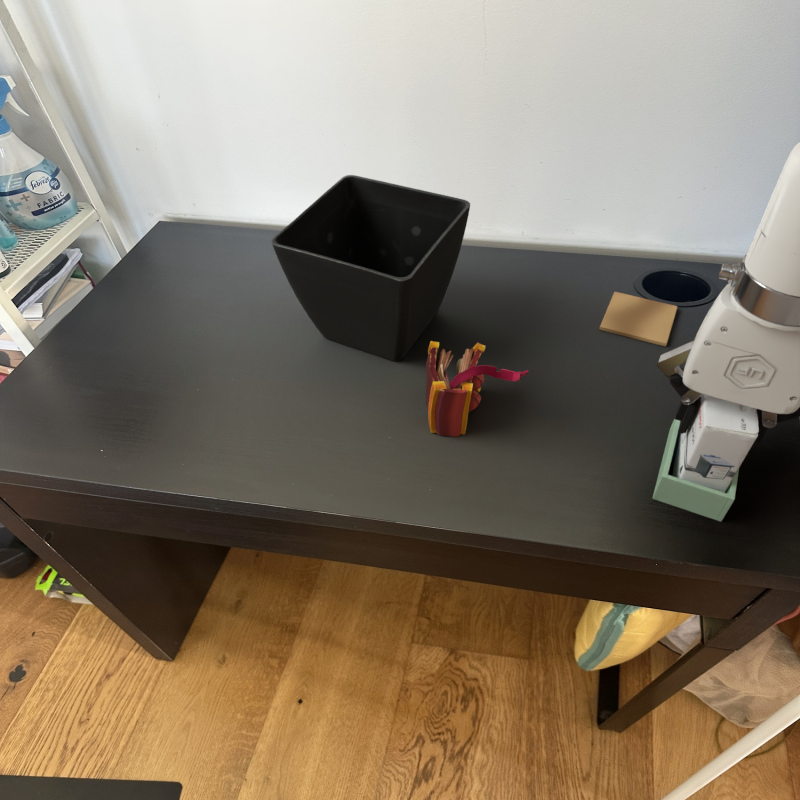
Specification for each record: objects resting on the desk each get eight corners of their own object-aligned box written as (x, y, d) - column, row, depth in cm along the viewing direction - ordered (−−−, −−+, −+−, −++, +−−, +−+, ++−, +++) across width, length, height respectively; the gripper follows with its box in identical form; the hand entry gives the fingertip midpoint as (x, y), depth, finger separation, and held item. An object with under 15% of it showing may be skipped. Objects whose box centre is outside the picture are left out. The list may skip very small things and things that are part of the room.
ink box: (673, 440, 73) (701, 366, 65) (719, 449, 72) (754, 375, 64) (670, 499, 68) (701, 425, 59) (721, 509, 66) (760, 436, 58)
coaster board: (676, 309, 90) (677, 306, 90) (665, 346, 85) (666, 343, 84) (613, 294, 93) (614, 291, 93) (599, 329, 88) (600, 326, 87)
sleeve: (732, 448, 72) (745, 425, 69) (721, 522, 65) (734, 499, 62) (669, 429, 74) (679, 406, 72) (652, 498, 68) (662, 476, 65)
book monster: (427, 380, 81) (519, 398, 79) (411, 432, 75) (510, 453, 74) (431, 317, 73) (534, 335, 72) (414, 370, 67) (525, 391, 66)
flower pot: (410, 387, 81) (407, 278, 69) (289, 346, 87) (266, 240, 75) (467, 305, 92) (473, 200, 80) (356, 275, 99) (346, 173, 87)
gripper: (670, 290, 53) (622, 432, 66) (906, 344, 47) (803, 488, 60) (684, 245, 57) (636, 386, 70) (901, 289, 52) (806, 434, 65)
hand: (714, 432), depth 65 cm, fingers closed on ink box, 5 cm apart
